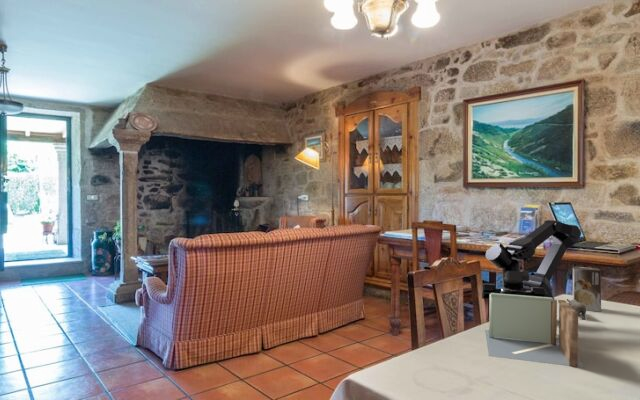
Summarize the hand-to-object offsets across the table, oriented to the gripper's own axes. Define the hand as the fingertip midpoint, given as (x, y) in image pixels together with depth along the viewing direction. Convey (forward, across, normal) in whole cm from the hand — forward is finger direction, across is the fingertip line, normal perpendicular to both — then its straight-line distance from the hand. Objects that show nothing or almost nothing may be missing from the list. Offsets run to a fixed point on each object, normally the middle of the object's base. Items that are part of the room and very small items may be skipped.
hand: (514, 316), depth 128 cm
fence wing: (+7, +2, +2) cm, 7 cm away
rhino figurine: (-20, +24, +30) cm, 43 cm away
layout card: (+10, +3, -1) cm, 11 cm away
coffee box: (-29, +30, +38) cm, 57 cm away
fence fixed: (+13, +12, -4) cm, 18 cm away
